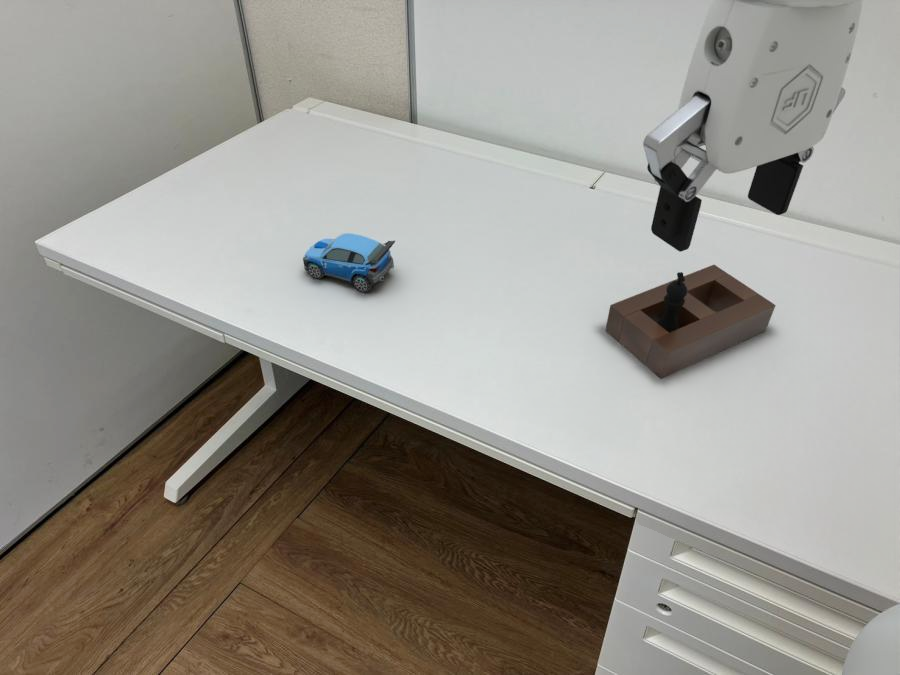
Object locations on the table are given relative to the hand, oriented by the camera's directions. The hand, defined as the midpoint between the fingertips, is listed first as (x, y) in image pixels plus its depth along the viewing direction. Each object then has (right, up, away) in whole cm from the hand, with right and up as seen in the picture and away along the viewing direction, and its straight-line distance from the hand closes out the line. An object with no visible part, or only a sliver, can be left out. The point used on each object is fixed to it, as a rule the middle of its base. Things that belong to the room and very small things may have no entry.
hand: (719, 223), depth 51 cm
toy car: (-33, 0, +43) cm, 55 cm away
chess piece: (+6, -9, +33) cm, 35 cm away
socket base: (+9, -8, +35) cm, 37 cm away
